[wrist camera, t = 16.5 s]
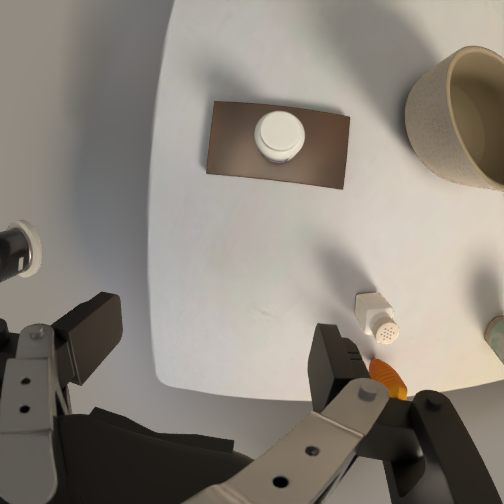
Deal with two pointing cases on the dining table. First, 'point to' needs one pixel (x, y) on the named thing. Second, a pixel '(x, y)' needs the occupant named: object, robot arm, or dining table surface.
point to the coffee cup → (496, 337)
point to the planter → (461, 118)
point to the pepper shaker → (376, 317)
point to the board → (257, 166)
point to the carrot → (388, 379)
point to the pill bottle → (279, 136)
